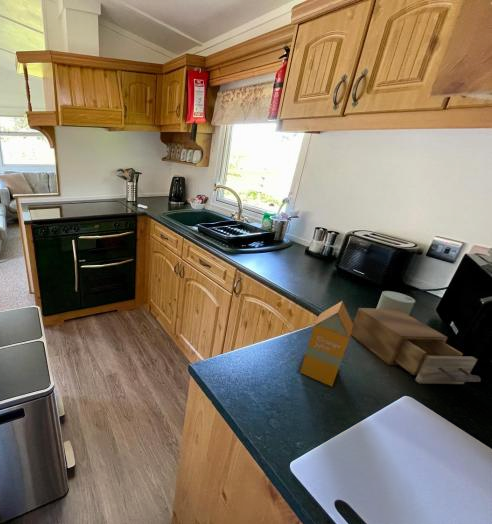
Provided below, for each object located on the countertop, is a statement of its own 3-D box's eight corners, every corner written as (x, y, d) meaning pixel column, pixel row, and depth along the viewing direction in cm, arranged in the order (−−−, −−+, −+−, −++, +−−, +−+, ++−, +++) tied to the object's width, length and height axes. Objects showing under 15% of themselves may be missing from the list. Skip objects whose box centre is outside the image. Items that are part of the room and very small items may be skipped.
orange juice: (337, 369, 79) (360, 305, 72) (332, 387, 73) (357, 318, 66) (306, 356, 84) (325, 295, 77) (299, 372, 77) (319, 306, 71)
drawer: (482, 396, 72) (498, 371, 69) (435, 396, 71) (449, 370, 68) (412, 349, 89) (422, 327, 87) (374, 348, 88) (383, 326, 86)
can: (408, 334, 99) (422, 303, 95) (376, 328, 102) (388, 298, 98) (396, 321, 107) (408, 292, 103) (367, 316, 110) (378, 287, 106)
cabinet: (433, 365, 84) (447, 337, 80) (388, 364, 83) (401, 336, 79) (387, 334, 98) (398, 309, 95) (349, 333, 98) (358, 307, 94)
